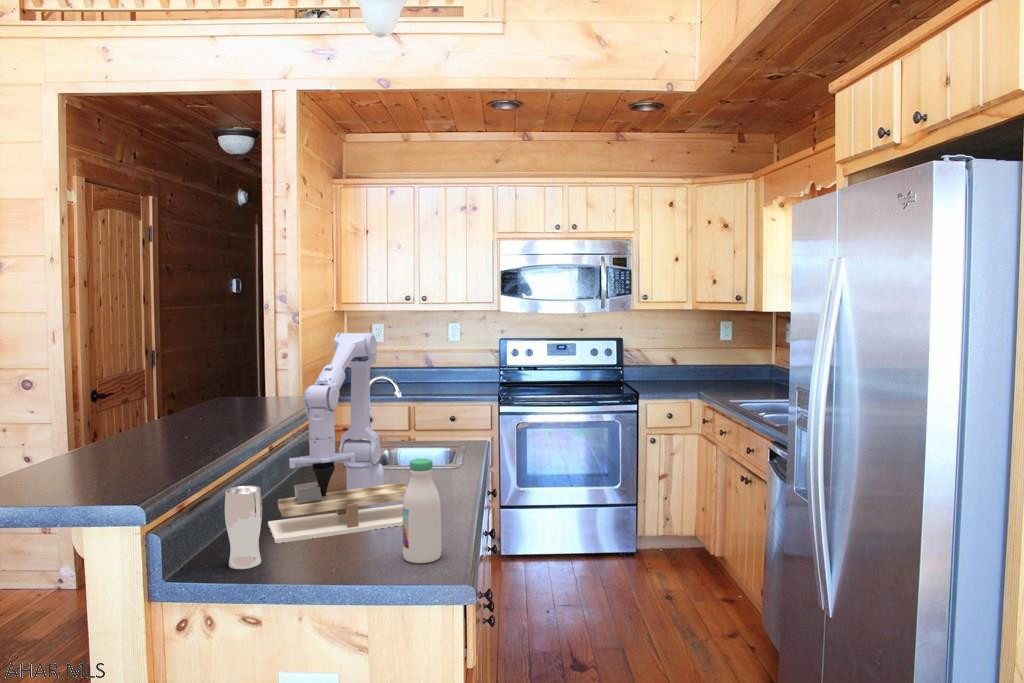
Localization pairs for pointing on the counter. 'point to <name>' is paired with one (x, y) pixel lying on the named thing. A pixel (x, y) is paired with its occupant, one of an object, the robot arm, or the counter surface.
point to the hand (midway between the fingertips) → (323, 495)
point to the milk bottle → (421, 515)
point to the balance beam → (344, 499)
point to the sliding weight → (307, 493)
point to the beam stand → (336, 523)
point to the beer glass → (243, 525)
